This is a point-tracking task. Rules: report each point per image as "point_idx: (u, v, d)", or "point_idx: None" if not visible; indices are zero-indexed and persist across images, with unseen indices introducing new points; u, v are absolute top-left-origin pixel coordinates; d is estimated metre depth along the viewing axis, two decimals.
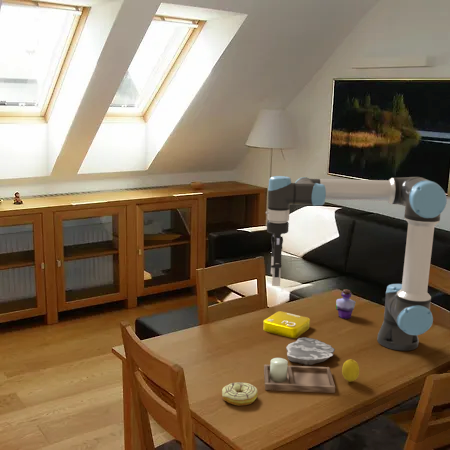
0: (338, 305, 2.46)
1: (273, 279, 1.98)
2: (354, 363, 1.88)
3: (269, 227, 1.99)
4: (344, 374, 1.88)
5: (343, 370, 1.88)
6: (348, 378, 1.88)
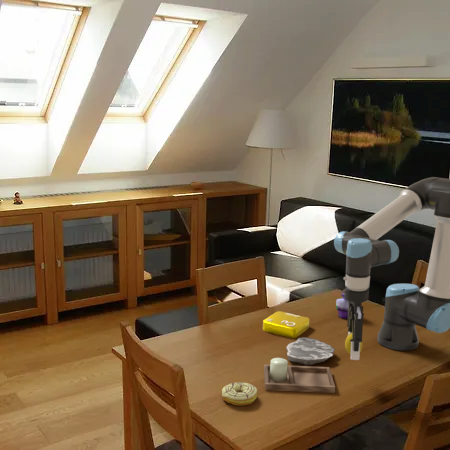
0: (338, 305, 2.46)
1: (352, 353, 1.85)
2: None
3: (348, 295, 1.82)
4: (347, 348, 1.87)
5: (346, 344, 1.87)
6: None
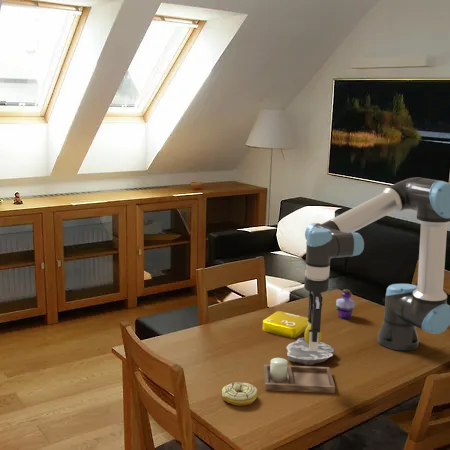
0: (338, 305, 2.46)
1: (310, 344, 1.83)
2: None
3: (307, 285, 1.80)
4: (306, 339, 1.85)
5: (305, 335, 1.85)
6: None
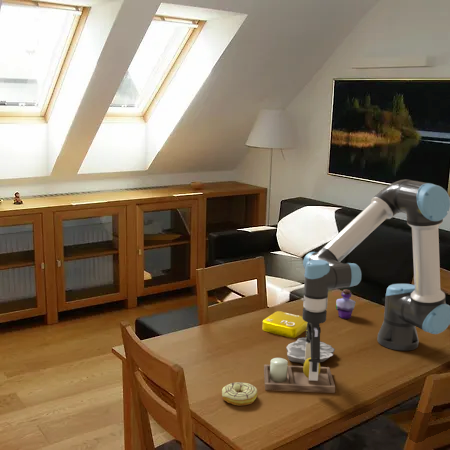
0: (338, 305, 2.46)
1: (310, 373, 1.81)
2: None
3: (306, 316, 1.83)
4: (305, 372, 1.87)
5: (304, 368, 1.88)
6: None
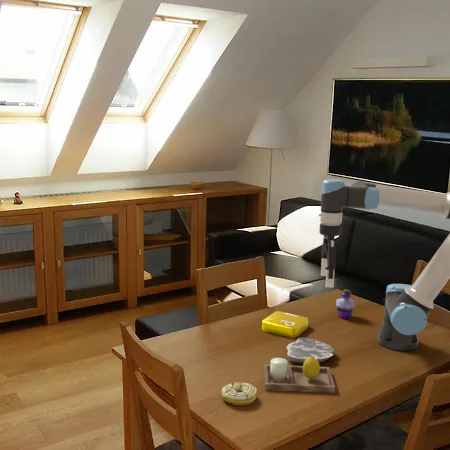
0: (338, 305, 2.46)
1: (327, 281, 2.01)
2: (314, 361, 1.87)
3: (322, 230, 2.02)
4: (304, 372, 1.87)
5: (304, 368, 1.88)
6: (308, 376, 1.87)
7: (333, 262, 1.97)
